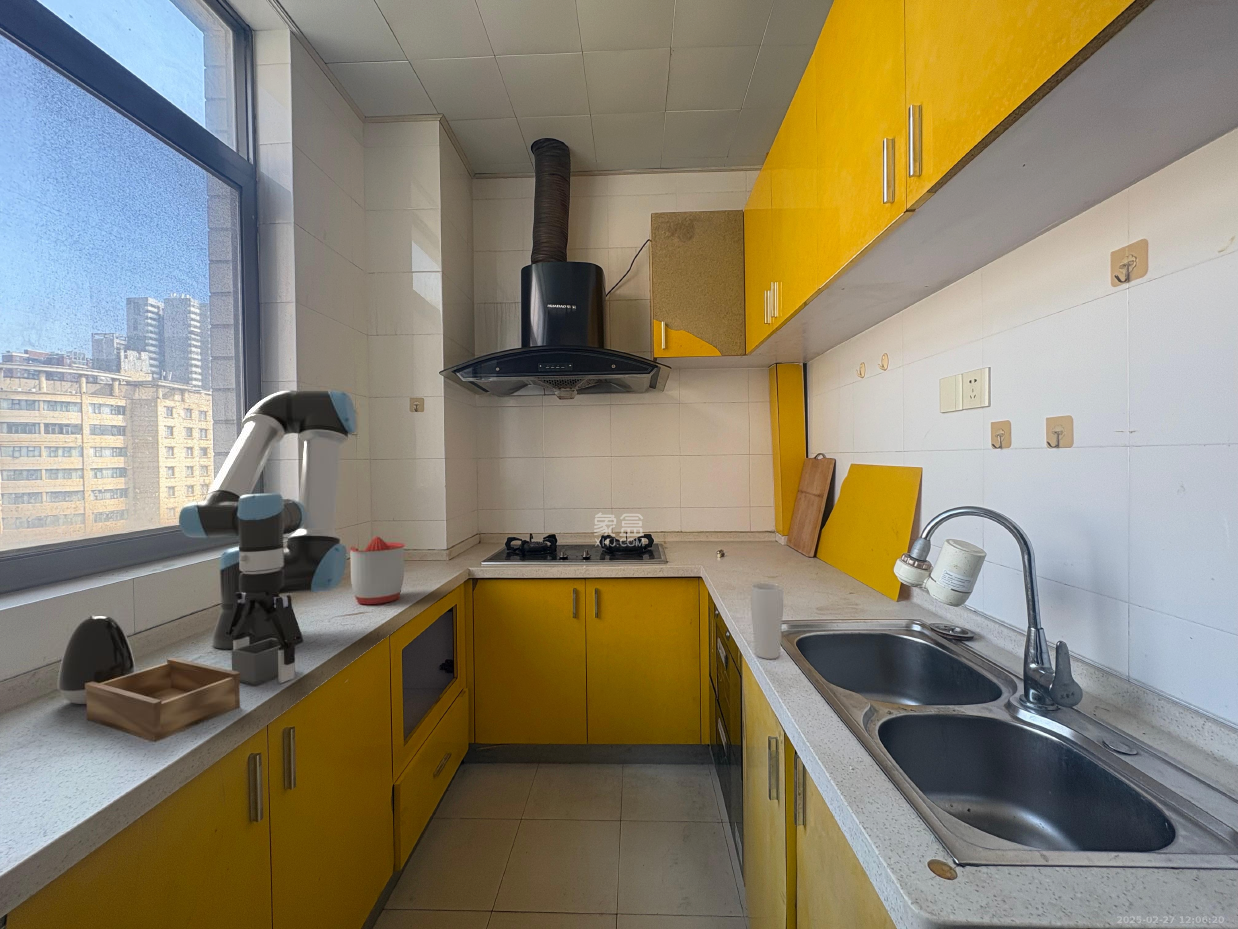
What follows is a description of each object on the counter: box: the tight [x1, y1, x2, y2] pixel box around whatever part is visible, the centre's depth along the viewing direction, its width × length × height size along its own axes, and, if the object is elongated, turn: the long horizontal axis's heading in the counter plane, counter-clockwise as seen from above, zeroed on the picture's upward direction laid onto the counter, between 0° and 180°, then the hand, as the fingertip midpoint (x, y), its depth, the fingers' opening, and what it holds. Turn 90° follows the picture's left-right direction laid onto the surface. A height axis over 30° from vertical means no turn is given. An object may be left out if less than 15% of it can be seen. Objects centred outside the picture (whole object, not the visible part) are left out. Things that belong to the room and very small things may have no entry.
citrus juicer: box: [349, 536, 405, 605], centre depth 165 cm, size 16×17×20 cm
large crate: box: [85, 657, 241, 743], centre depth 92 cm, size 13×20×6 cm, turn 67°
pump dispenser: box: [57, 615, 136, 705], centre depth 98 cm, size 10×10×15 cm
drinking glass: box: [750, 582, 784, 660], centre depth 114 cm, size 7×7×15 cm
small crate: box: [231, 638, 296, 687], centre depth 107 cm, size 8×7×6 cm
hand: (263, 675), depth 107 cm, fingers open, 13 cm apart
